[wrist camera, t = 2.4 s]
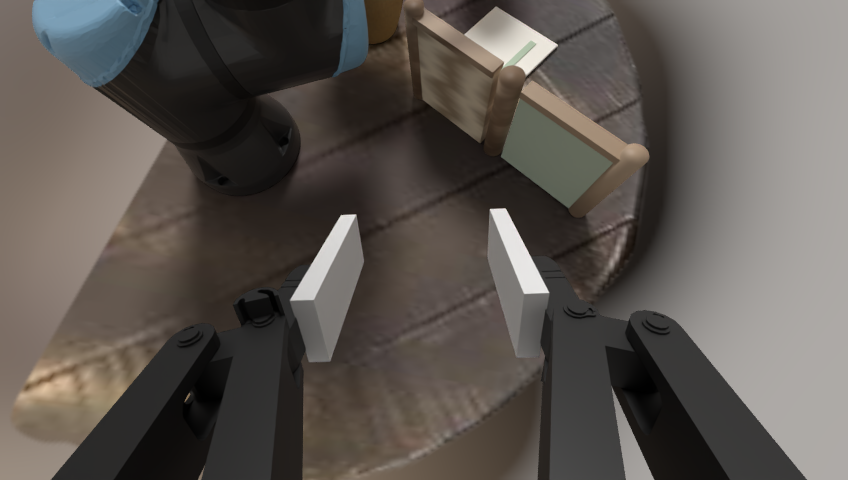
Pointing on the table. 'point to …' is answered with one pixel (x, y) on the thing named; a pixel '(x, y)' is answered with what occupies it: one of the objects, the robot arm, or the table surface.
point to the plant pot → (382, 19)
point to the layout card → (511, 40)
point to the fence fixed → (461, 78)
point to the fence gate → (568, 151)
